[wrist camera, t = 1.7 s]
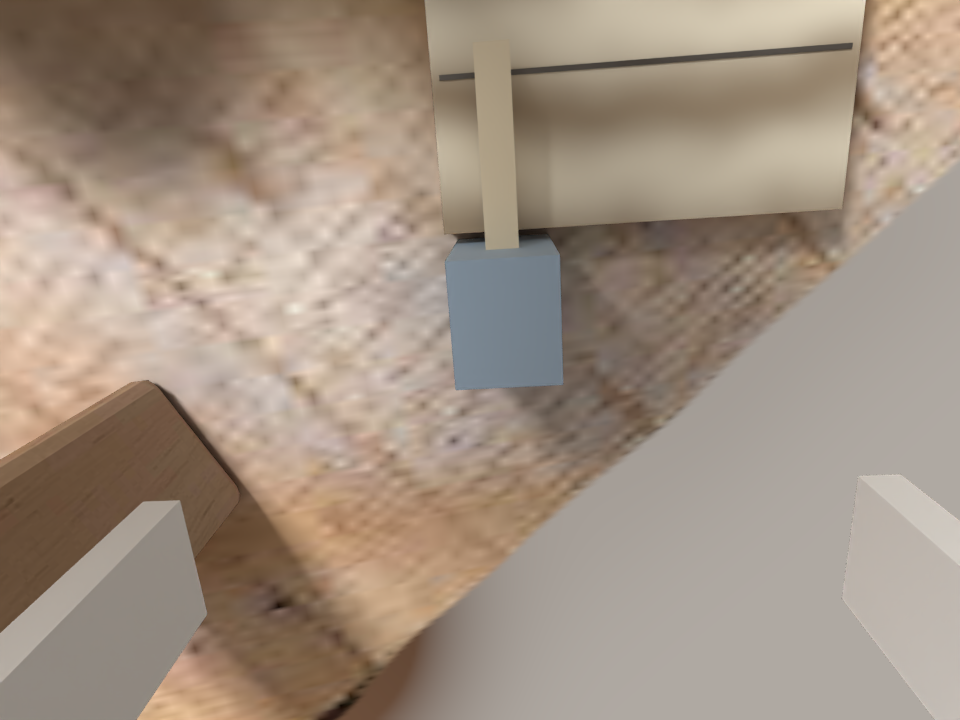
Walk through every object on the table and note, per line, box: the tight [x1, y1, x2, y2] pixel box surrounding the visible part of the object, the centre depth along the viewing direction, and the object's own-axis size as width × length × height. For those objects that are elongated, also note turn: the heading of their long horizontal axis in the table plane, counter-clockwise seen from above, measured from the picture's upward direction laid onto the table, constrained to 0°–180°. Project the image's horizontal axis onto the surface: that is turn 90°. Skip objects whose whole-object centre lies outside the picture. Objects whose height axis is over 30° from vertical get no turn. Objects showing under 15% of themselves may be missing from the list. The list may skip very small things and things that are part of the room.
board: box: [425, 0, 866, 234], centre depth 30 cm, size 12×20×3 cm, turn 94°
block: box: [0, 380, 240, 633], centre depth 30 cm, size 10×10×20 cm
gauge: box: [445, 39, 563, 390], centre depth 30 cm, size 15×5×8 cm, turn 4°
